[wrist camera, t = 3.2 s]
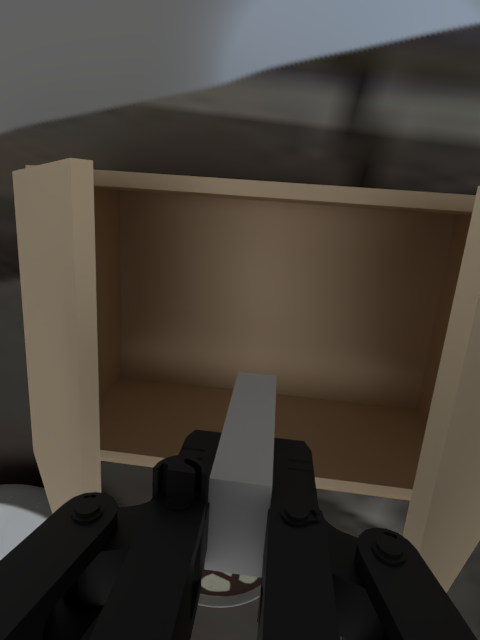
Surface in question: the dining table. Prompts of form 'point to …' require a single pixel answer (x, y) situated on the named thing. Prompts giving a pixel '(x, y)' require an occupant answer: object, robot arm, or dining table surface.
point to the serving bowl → (20, 513)
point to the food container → (227, 589)
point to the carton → (274, 315)
